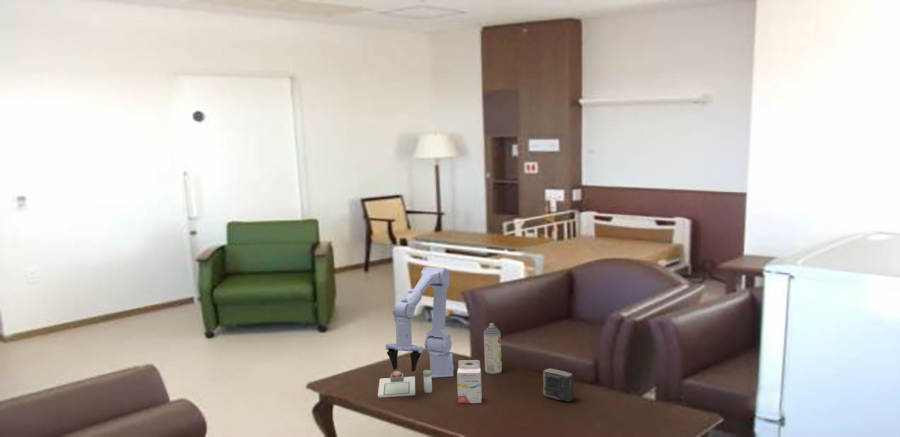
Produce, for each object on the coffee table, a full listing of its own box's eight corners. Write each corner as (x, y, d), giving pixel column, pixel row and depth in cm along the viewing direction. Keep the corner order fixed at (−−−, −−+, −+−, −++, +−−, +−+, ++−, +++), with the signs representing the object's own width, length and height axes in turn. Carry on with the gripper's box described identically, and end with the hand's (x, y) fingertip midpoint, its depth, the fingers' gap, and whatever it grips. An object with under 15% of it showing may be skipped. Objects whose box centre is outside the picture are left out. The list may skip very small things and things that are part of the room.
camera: (576, 399, 258) (575, 372, 256) (567, 404, 254) (566, 377, 252) (550, 392, 266) (549, 366, 264) (540, 397, 261) (540, 370, 260)
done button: (400, 375, 285) (400, 370, 285) (400, 378, 282) (400, 373, 282) (393, 376, 285) (393, 371, 285) (393, 378, 282) (392, 373, 282)
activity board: (414, 378, 287) (414, 372, 286) (415, 395, 269) (414, 388, 269) (379, 380, 286) (379, 374, 286) (377, 397, 268) (377, 390, 268)
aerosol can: (503, 373, 287) (501, 325, 284) (486, 375, 287) (484, 326, 284) (500, 368, 294) (498, 320, 291) (484, 369, 293) (482, 322, 291)
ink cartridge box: (457, 403, 259) (455, 364, 257) (459, 398, 264) (457, 359, 262) (481, 403, 258) (479, 364, 256) (482, 398, 263) (480, 359, 261)
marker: (432, 389, 274) (431, 369, 273) (432, 392, 271) (431, 372, 270) (424, 390, 274) (422, 370, 273) (424, 393, 270) (423, 372, 269)
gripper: (381, 334, 265) (382, 370, 266) (417, 337, 260) (417, 374, 261) (390, 330, 272) (390, 366, 273) (424, 333, 267) (425, 369, 268)
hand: (404, 369), depth 267 cm, fingers open, 7 cm apart
